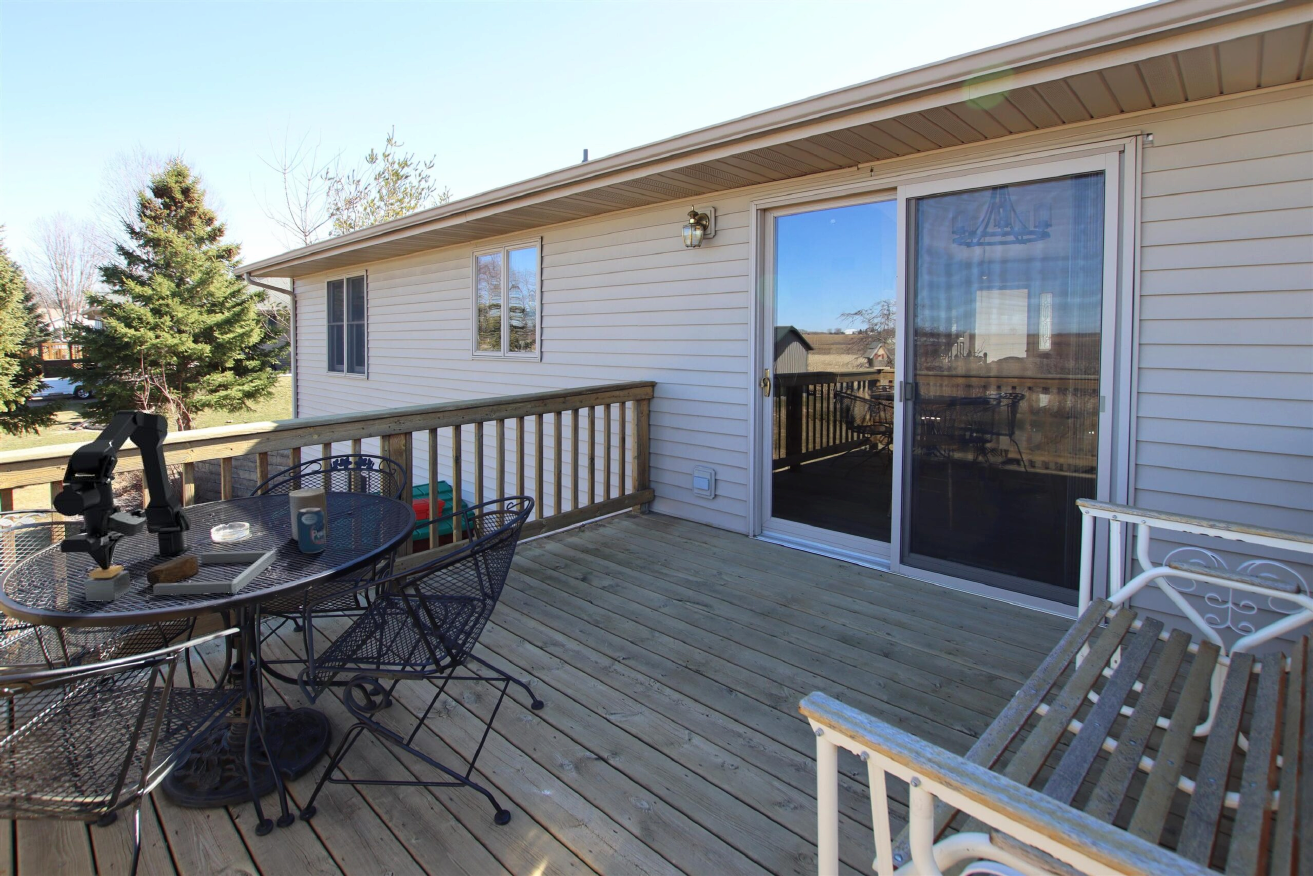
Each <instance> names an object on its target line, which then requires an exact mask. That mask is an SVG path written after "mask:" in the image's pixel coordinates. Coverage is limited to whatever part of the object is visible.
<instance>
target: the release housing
mask: <svg viewBox="0 0 1313 876" xmlns="http://www.w3.org/2000/svg"><path fill="white" fill-rule="evenodd" d="M130 577H131V576H130V571H129V570H123V571H121V572H119V573H118V574H116V576H114V577H112V578H111V579H98V578H90V577H89V578H87V579H85V580H84V581H83V586H84V595H85V599H86V600H85V602H86V601H89V600H101V601H102V600H103V601H102V602H108V601H107V600H116V599H118V598H119V599H121V598H122V597H124V596H125V595H124V594H126V593H127V592H129V591H130V592H131V591H132V587H131V586H132V585H131V580H130V579H131V578H130ZM130 592H129V593H130ZM127 594H128V593H127ZM127 594H126V595H127ZM123 595H124V596H123ZM121 596H122V597H121ZM120 597H121V598H120ZM119 599H118V600H119ZM116 601H117V600H116Z"/></svg>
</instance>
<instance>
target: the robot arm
mask: <svg viewBox="0 0 1313 876" xmlns="http://www.w3.org/2000/svg"><path fill="white" fill-rule="evenodd" d="M113 414H114V415H113V418H112V420H111V421H110V422H108V424H107V426H105V428H104V429H102V431H101V432H100V434H99V435H98V436H97V437H96V438H95V440H93V441H92V442H89V443H86V444H84V445H81V446H80V447H78V448H77V449H76V450H75V451H74V452H72V454H71V456H70V457H69V459H68V463H67V466H66V469H65V473H64V476H63V478H62V484H63V485H62V486H61V487H62V491H60V492H59V493H57V494H56V495H55V497H54V499H53V501H52V504H53V507H54V509H55V510H56V512H57V513H58V514H60V515H62V516H65V517H75V516H78V517H81V516H82V518H83V527H82V528H79V533H80V534H73V535H72V536H69V537H67V538H63V540H62V541H61V542H60V543H59V551H60V553H61V554H62V553H63V554H64V553H65V554H66V553H69V554H70V553H87V554H88V555H89V556H90V557H91V558H92V559H93V560H94V561H95V563H96V565H98V566H99V567H101V568H102V570H107V569H109V568H110V566H111V565H112V564H111V563H112V561H113V557H114V556H113V555H114V553H115V549H116V546H117V544H118V543H119V542H120V541H122V540H123V539H124V538H125V537H135V536H136V535H137V534H139V533H142V532H143V529H144V526H146V529H147V531H148V534H151V535H152V534H157V543H158V550H157V552H154V553H153V556H154V557H162V556H180V555H182V554H184V553H185V552H187V551H188V550H190V549H191V546H190V545H188V546H187V545H185V539H184V532H187V531H190V530H191V528H192V520H191V518H190V517H189V516H188V515H187V513H186V512H185V511H184V510H183V506H182V504H181V501H179V500H178V499H177V498H176V497H175V496H174V495H173V493H172V490H171V483H170V480H169V479H170V478H169V474H168V468H167V464H166V458H165V457H166V456H165V452H164V448H163V444H164V442H165V440H166V439H167V436H168V435H169V434H168V429H169V423H168V420H167V418H165V416H163V415H162V414H160V413H150V412H149V413H148V412H144V411H142V410H138V409H128V410H127V409H120V410H117V411H115V412H114V413H113ZM128 439H129V440H130V442H132V444H134V445H135V446H136V447H137V448H138V449H139V451H140V455H141V456H140V457H141V462H142V467H143V471H144V477H145V481H146V486H147V490H148V496H149V501H148V504H147V506H146V507H144V509H141V508H138V509H136V510H133V512H127V513H125V512H122V511H121V509H122V508H121V506H120V505H119V504H115V501H114V494H113V484H112V482H113V481H115V480H116V477H115V476H114V475H113V472H114V470H115V468H116V465H117V463H118V462H119V461H118V457H117V455H118V454H117V453H118V452H119V451H120V449H121V448H122V446H124V444H125V443H126V441H127V440H128Z"/></svg>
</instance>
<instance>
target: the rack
mask: <svg viewBox="0 0 1313 876" xmlns="http://www.w3.org/2000/svg"><path fill="white" fill-rule="evenodd" d="M200 560H201V561H200V563H201V564H225V563H227V564H230V563H252V564H251V565H250V566H249V567H247V568H246V569H245V570H244V571H243V572H242V573H240V574H239V575H238V576H236V577H235V578H233V580H229V581H226V580H225V581H200V582H199V581H198V582H196V581H195V582H174V583H159V584H155V585H154V586H152V587H153V588H152V591H153V596H154V595H171V594H173V596H179V595H178V594H198V593H199V594H200V593H221V592H224V593H228V592H229V593H233V594H238V593H239V592H240V591H241V590H243V588H245V587H246V586H248V584H250V583H251V582H252V581H253V580H254V579H255V578H257V577H258V576H259V575H261V574H262V572H263V571H265V569H267V568H268V567H269V566H270V565H272V564H273V563H274V562H275V561H276V560H277V554H276V550H249V551H247V550H245V551H241V550H240V551H209V552H202V553H200ZM244 586H245V587H244ZM240 589H241V590H240ZM239 590H240V591H239ZM238 591H239V592H238ZM237 592H238V593H237ZM175 594H176V595H175Z"/></svg>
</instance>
